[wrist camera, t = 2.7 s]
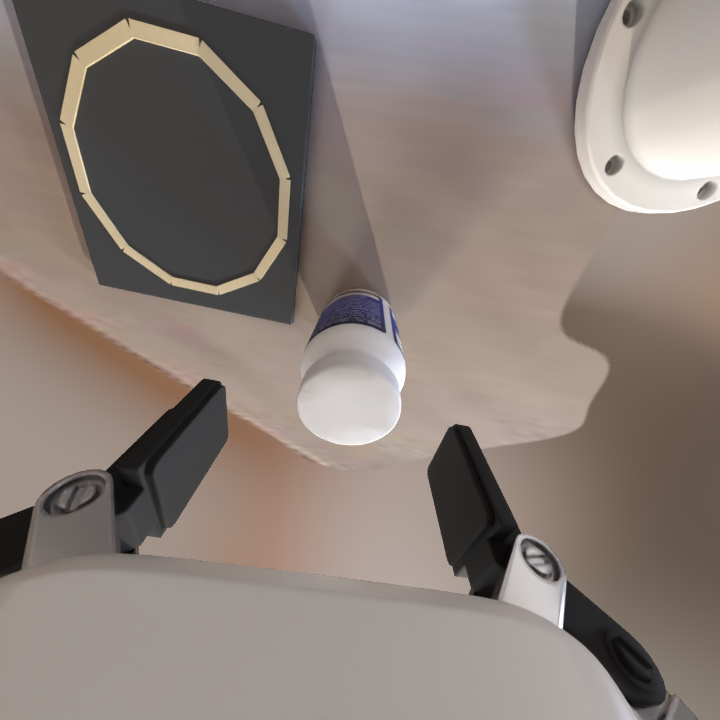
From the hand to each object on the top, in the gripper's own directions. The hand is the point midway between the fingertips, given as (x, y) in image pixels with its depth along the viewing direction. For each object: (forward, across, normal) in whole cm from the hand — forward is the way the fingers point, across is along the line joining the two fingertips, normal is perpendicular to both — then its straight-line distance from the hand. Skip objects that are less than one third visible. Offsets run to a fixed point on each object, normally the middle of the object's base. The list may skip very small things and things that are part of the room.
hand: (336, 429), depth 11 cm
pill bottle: (+11, 0, -1) cm, 11 cm away
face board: (+11, +12, -7) cm, 17 cm away
